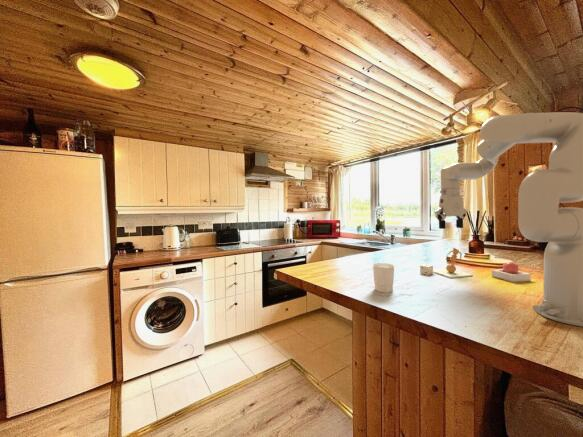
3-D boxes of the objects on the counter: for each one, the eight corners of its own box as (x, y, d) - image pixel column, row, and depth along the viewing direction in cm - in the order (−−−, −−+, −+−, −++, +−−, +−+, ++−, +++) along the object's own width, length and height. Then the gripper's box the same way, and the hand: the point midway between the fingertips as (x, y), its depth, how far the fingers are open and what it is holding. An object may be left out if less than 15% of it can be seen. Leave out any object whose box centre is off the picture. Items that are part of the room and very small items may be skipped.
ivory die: (427, 275, 113) (427, 266, 113) (419, 273, 117) (419, 264, 116) (432, 273, 115) (432, 265, 115) (424, 272, 119) (424, 263, 119)
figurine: (440, 270, 118) (440, 247, 117) (451, 269, 119) (451, 246, 118) (454, 275, 110) (454, 249, 109) (465, 274, 110) (465, 248, 110)
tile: (450, 278, 107) (450, 276, 107) (430, 271, 119) (430, 270, 119) (472, 276, 109) (472, 274, 109) (451, 269, 121) (451, 268, 121)
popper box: (513, 282, 99) (513, 275, 99) (491, 276, 108) (491, 270, 108) (530, 280, 100) (530, 273, 100) (507, 275, 109) (507, 268, 109)
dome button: (512, 275, 101) (512, 263, 101) (499, 272, 106) (499, 261, 106) (521, 274, 102) (521, 263, 102) (509, 271, 107) (509, 260, 107)
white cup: (373, 292, 92) (373, 267, 92) (373, 286, 99) (372, 262, 99) (395, 294, 90) (395, 268, 89) (393, 287, 97) (392, 263, 97)
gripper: (440, 192, 107) (441, 229, 107) (473, 191, 110) (473, 227, 110) (428, 193, 115) (429, 228, 115) (459, 193, 118) (459, 227, 118)
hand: (451, 228), depth 113 cm, fingers open, 9 cm apart
